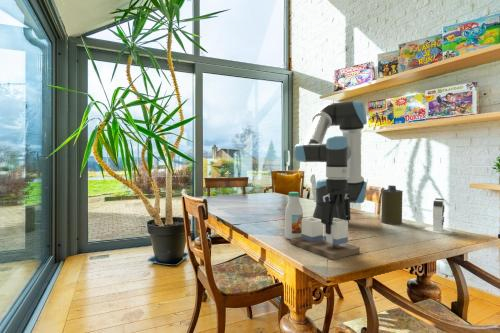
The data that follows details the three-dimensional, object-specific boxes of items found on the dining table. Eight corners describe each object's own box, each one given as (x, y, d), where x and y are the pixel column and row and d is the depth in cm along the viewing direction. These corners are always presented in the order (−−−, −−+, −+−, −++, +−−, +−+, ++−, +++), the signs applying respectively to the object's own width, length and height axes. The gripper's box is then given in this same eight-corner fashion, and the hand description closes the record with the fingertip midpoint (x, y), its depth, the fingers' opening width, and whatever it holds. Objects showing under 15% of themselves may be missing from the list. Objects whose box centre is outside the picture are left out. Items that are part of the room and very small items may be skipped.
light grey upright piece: (452, 235, 128) (452, 202, 127) (422, 231, 135) (423, 200, 134) (452, 229, 137) (453, 199, 137) (425, 226, 144) (425, 197, 144)
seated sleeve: (301, 238, 116) (301, 219, 115) (312, 236, 119) (312, 217, 119) (312, 242, 111) (312, 221, 110) (322, 239, 114) (323, 220, 114)
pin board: (290, 243, 115) (290, 226, 115) (315, 238, 123) (315, 222, 123) (333, 260, 97) (334, 239, 97) (359, 252, 104) (359, 233, 104)
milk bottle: (284, 239, 121) (284, 193, 120) (285, 235, 128) (285, 191, 128) (303, 240, 120) (303, 193, 119) (302, 235, 127) (302, 191, 127)
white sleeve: (336, 245, 101) (337, 222, 100) (323, 240, 106) (324, 219, 105) (347, 242, 104) (348, 220, 104) (334, 238, 109) (334, 217, 109)
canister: (405, 225, 147) (405, 186, 146) (383, 224, 149) (384, 186, 148) (398, 220, 158) (399, 184, 157) (378, 219, 160) (379, 184, 159)
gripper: (326, 180, 96) (326, 248, 96) (361, 178, 106) (360, 239, 107) (310, 178, 102) (310, 242, 103) (344, 177, 112) (344, 235, 113)
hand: (335, 240), depth 105 cm, fingers closed on white sleeve, 6 cm apart
